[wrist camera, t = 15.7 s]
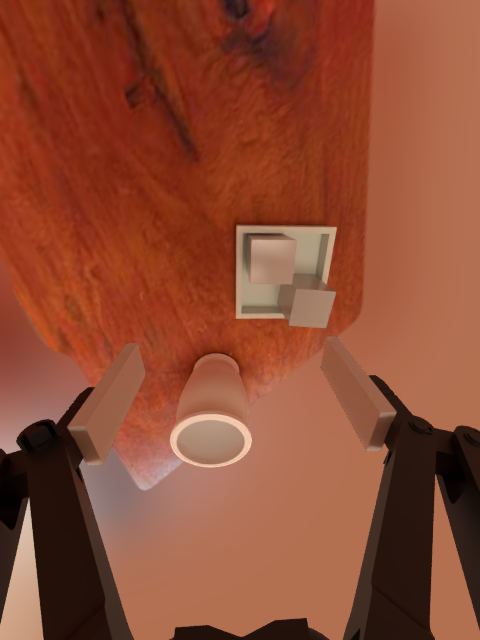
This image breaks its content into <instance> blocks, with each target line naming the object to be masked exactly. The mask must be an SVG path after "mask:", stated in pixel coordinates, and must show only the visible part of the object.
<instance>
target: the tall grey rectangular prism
mask: <svg viewBox="0 0 480 640" xmlns="http://www.w3.org/2000/svg"><path fill="white" fill-rule="evenodd" d="M296 245H297V240H295V239H293V238H291V237H289V236H287V235H285V234H283V233H247V243H246V271H247V274H248V278H249V282H250V284H292V280H293V271H294V263H295V254H296Z"/></svg>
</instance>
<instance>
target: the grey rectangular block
mask: <svg viewBox="0 0 480 640" xmlns="http://www.w3.org/2000/svg"><path fill="white" fill-rule="evenodd" d="M335 294H336V291H335V290H333V289H332V288H331V287H329V286H328V285H327V284H326V283H324V282H323V281H322V280H321V279H319V278H318V277H317V276H315V275H310V274H298V273H293V280H292V284H280V290H279V295H278V301H277V304H278V306H279V307H280V309H281V311H282V313H283V315H284V317H285V319H286V321H287V323H288V325H289V326H303V327H318V328H326V326H327V323H328V319H329V315H330V312H331V308H332V305H333V301H334V298H335Z"/></svg>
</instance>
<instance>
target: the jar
mask: <svg viewBox="0 0 480 640" xmlns="http://www.w3.org/2000/svg"><path fill="white" fill-rule="evenodd" d="M248 416H249V408H248V400H247V395H246V392H245V389H244V386H243V382H242V379H241V377H240V375H239V367H238V365H237V363H236V362H235V361H234V360H233V359H232V358H231V357H229V356H227V355H224V354H219V353H213V354H208V355H205V356H203V357H202V358H200V359H199V360H198V361H197V362H196V364H195V366H194V369H193V373H192V374H191V376H190V378H189V379H188V382H187V384H186V386H185V387H184V389H183V392H182V394H181V397H180V400H179V404H178V408H177V416H176V424H175V426H174V427H173V429H172V432H171V438H170V443H171V447H172V449H173V451H174V453H175V454H176V455H177V456H178V457H179V458H181V459H182V460H184V461H186V462H188V463H190V464H193V465H196V466H201V467H220V466H225V465H229V464H231V463H234V462H236V461H238V460H239V459H241V458H242V457H243V456H244V455H245V454H246V453H247V452H248V451H249V449H250V446H251V442H252V441H251V440H252V439H251V433H250V429H249V427H248Z"/></svg>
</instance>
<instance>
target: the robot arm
mask: <svg viewBox="0 0 480 640" xmlns="http://www.w3.org/2000/svg"><path fill="white" fill-rule="evenodd" d="M321 369H322V371H323V373H324V375H325V377H326V378H327V380H328V382H329V384H330V386H331V388H332V389H333V391H334V393H335V395H336V397H337V399H338V400H339V402H340V404H341V406H342V408H343V410H344V411H345V413H346V415H347V417H348V419H349V421H350V422H351V424H352V426H353V428H354V430H355V432H356V433H357V435H358V437H359V439H360V441H361V443H362V444H363V446H364V448H365V450H366V451H377V450H378V451H379V450H381V449H382V447H383V444H384V443H385V444H386V446H387V448H388V449H389V451H388V453H387V456H386V458H385V460H384V462H383V463H384V464H385V466H384V471H383V475H382V479H381V484H380V488H379V492H378V497H377V501H376V506H375V510H374V514H373V519H372V523H371V528H370V532H369V537H368V541H367V546H366V550H365V554H364V558H363V563H362V567H361V572H360V577H359V581H358V585H357V589H356V594H355V598H354V602H353V607H352V611H351V614H350V617H349V620H348V623H347V626H346V630H345V633H344V637H343V640H435V638H434V636H433V634H432V633H431V630H430V595H431V594H430V593H431V567H432V543H433V517H434V516H433V515H434V491H435V474H436V476H437V480H438V483H439V487H440V490H441V494H442V498H443V501H444V504H445V508H446V512H447V515H448V519H449V522H450V526H451V530H452V533H453V537H454V540H455V544H456V548H457V551H458V555H459V558H460V562H461V565H462V569H463V572H464V576H465V580H466V583H467V587H468V590H469V594H470V597H471V600H472V604H473V608H474V612H475V615H476V619H477V622H478V626H479V629H480V431H478V430H477V429H474V428H471V427H469V426H458V427H456V429H455V430H454V432H450V431H446V430H441V429H436V428H434V427H433V426H432V425H431V424H430V423H429V422H427V421H426V420H424V419H422V418H420V417H417V416H414V415H412V414H411V412H410V411H409V410H408V409H407V408H406V407H405V405H404V404H403V403H402V402H401V401H400V399H399V398H398V397H397V396H396V395H394V392H393V391H392V390H391V389H390V388H389V387H388V385H387V384H386V383H385V382H384V381H383V380H381V379H380V378H379V377H377V376H376V375H370V376H368V375H367V374H366V372H365V371H364V370H363V369H362V367H361V366H360V365H359V364H358V362H357V361H356V360H355V358H354V357H353V356H352V355H351V354H350V352H349V351H348V350H347V348H346V347H345V346H344V345H343V344H342V342H341V341H340V339H339V338H338V337H337V336H327V337H326V340H325V346H324V351H323V357H322V363H321ZM145 375H146V373H145V369H144V365H143V362H142V358H141V354H140V350H139V346H138V343H128V344H126V345H125V346H124V348H123V349H122V351H121V352H120V353H119V355H118V356H117V358H116V359H115V360H114V362H113V363H112V365H111V366H110V367H109V369H108V370H107V372H106V373H105V374H104V376H103V377H102V379H101V380H100V381H99V383H98V384H97V386H96V387H88V388H87V389H86V390H84V391H83V392H82V393H80V394H79V396H78V397H77V398H76V400H75V401H74V403H72V405H71V406H70V407H69V410H67V411H66V413H65V414H64V415H63V416H62V418H61V419H60V420H59V422H58V423H57V424H55V422H54V421H53V420H49V419H46V420H41V421H38V422H35V423H33V424H32V425H30V426H28V427H27V428H25V429H24V430H23V431H22V432H21V433H20V434H19V436H18V437H17V440H16V442H17V444H18V445H19V447H20V448H21V450H19V451H16V452H13V453H10V454H6V453H5V452H4V451H3V450H2V449H0V623H1V619H2V614H3V610H4V605H5V601H6V596H7V592H8V587H9V583H10V579H11V574H12V570H13V565H14V561H15V556H16V552H17V547H18V543H19V539H20V534H21V529H22V525H23V521H24V516H25V511H26V507H27V503H28V499H30V510H31V518H32V529H33V539H34V549H35V558H36V568H37V578H38V588H39V597H40V607H41V616H42V627H43V637H44V640H134V638H133V636H132V634H131V631H130V629H129V626H128V623H127V620H126V617H125V614H124V610H123V608H122V604H121V601H120V597H119V594H118V591H117V587H116V584H115V581H114V578H113V574H112V571H111V568H110V564H109V561H108V558H107V555H106V551H105V548H104V545H103V542H102V538H101V535H100V532H99V528H98V525H97V522H96V519H95V515H94V512H93V509H92V506H91V502H90V499H89V496H88V492H87V489H86V486H85V483H84V479H83V476H82V473H81V470H80V468H79V464H80V463H81V461H82V459H83V458H84V460H85V462H86V464H87V465H101V464H103V463H104V461H105V459H106V457H107V455H108V453H109V451H110V449H111V446H112V444H113V442H114V440H115V438H116V436H117V434H118V432H119V430H120V428H121V425H122V423H123V421H124V419H125V417H126V415H127V413H128V411H129V409H130V407H131V404H132V402H133V400H134V398H135V396H136V394H137V392H138V390H139V388H140V386H141V383H142V381H143V379H144V377H145ZM170 640H329V639H328V638H327V637H325V636H324V635H323V634H321V633H319V632H317V631H316V630H314V629H311V628H309V627H308V623H307V618H301V619H287V620H275V621H273V622H271V623H269V624H267V625H265V626H263V627H262V628H259V629H257V630H256V631H254V632H252V633H250V634H248V635H246V636H244V637H239V636H236V635H233V634H230V633H228V632H225V631H222V630H220V629H217V628H214V627H211V626H209V625H205V626H204V625H203V626H189V627H176V628H175V635H174V637H173V638H172V639H170Z"/></svg>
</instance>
